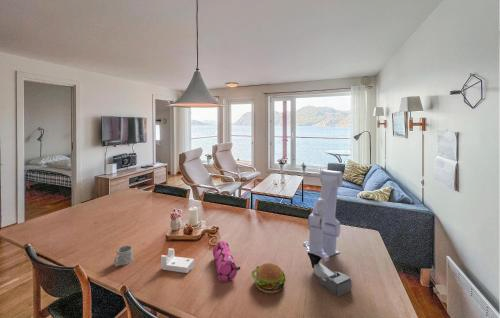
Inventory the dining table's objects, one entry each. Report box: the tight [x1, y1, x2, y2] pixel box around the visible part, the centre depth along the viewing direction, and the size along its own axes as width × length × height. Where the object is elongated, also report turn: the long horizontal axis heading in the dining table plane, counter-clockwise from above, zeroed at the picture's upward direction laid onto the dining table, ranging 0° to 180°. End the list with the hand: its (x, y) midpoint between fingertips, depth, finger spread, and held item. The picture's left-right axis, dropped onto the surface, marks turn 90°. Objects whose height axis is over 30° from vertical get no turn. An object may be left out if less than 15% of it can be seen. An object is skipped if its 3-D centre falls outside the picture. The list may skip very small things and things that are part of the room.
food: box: [251, 262, 286, 294], centre depth 98 cm, size 14×14×8 cm
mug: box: [113, 245, 134, 267], centre depth 114 cm, size 10×7×7 cm
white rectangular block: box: [313, 262, 335, 279], centre depth 102 cm, size 9×4×4 cm, turn 27°
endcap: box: [318, 270, 353, 298], centre depth 97 cm, size 10×10×5 cm
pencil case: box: [212, 240, 241, 283], centre depth 109 cm, size 21×10×10 cm, turn 18°
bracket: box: [160, 247, 195, 274], centre depth 110 cm, size 13×7×8 cm, turn 77°
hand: (314, 267), depth 108 cm, fingers closed
